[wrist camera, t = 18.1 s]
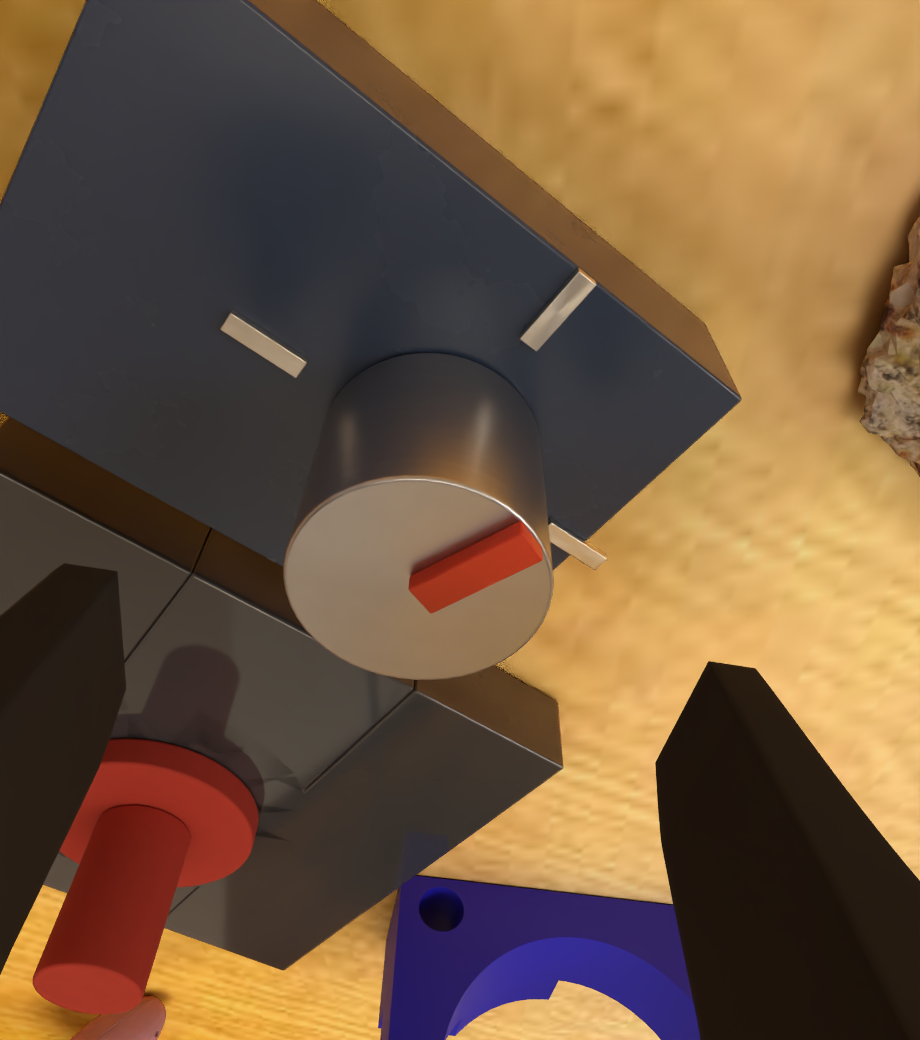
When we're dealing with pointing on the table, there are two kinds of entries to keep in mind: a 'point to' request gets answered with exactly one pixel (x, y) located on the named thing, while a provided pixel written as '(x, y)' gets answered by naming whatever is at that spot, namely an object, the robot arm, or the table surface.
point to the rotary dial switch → (309, 272)
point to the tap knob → (423, 522)
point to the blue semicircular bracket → (526, 956)
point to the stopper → (139, 867)
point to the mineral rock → (897, 363)
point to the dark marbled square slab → (271, 710)
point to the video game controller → (127, 1023)
